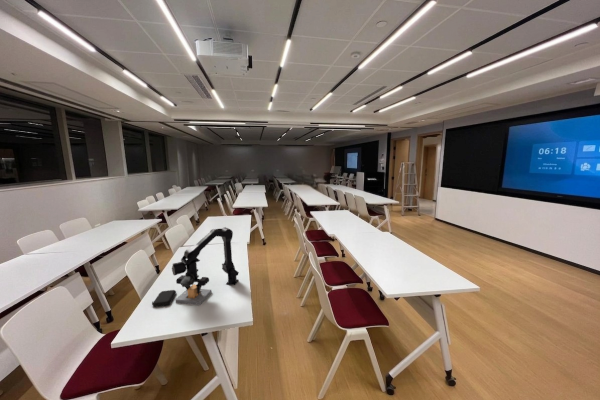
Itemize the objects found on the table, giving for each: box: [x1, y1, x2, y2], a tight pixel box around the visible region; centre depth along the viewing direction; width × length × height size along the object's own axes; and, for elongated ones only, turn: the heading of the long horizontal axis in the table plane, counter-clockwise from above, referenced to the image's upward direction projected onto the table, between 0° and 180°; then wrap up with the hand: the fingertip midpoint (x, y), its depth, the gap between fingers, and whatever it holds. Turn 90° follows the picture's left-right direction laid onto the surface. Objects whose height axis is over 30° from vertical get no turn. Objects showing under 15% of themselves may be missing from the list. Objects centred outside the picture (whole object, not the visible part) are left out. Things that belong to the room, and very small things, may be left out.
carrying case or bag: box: [151, 289, 177, 308], centre depth 144 cm, size 11×3×15 cm
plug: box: [188, 283, 200, 299], centre depth 146 cm, size 6×4×7 cm, turn 172°
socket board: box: [175, 288, 212, 306], centre depth 147 cm, size 13×16×2 cm
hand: (193, 292), depth 147 cm, fingers open, 6 cm apart
